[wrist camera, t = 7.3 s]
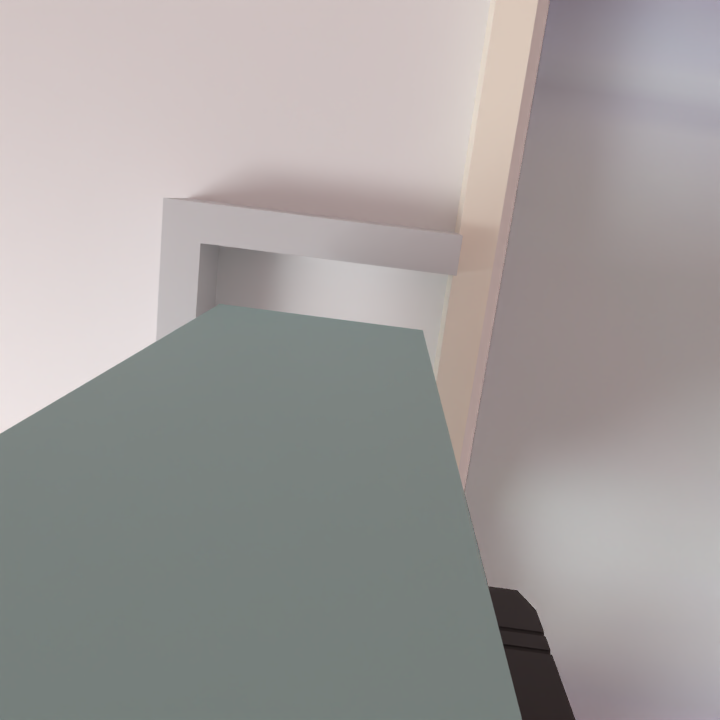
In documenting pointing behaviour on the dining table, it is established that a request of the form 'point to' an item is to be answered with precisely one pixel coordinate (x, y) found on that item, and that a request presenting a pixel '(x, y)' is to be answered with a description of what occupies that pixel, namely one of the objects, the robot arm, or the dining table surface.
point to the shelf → (256, 176)
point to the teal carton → (246, 536)
